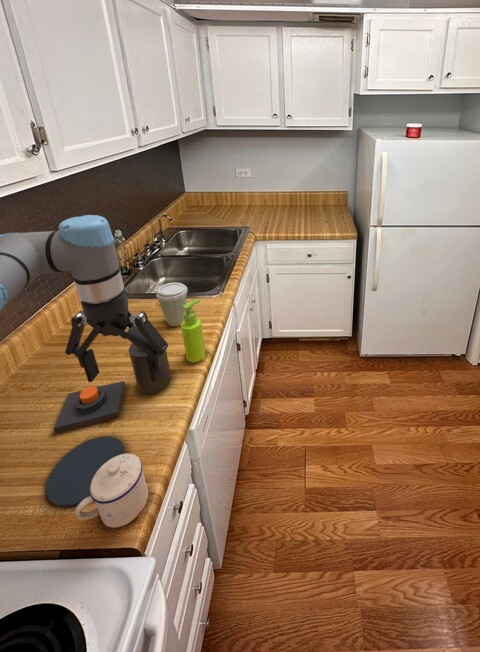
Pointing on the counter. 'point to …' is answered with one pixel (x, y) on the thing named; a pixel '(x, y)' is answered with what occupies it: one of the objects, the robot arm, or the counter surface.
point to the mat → (80, 470)
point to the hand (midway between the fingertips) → (125, 377)
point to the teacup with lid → (117, 491)
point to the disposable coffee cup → (172, 302)
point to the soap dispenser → (192, 334)
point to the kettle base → (91, 408)
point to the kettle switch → (89, 395)
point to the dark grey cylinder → (143, 372)
